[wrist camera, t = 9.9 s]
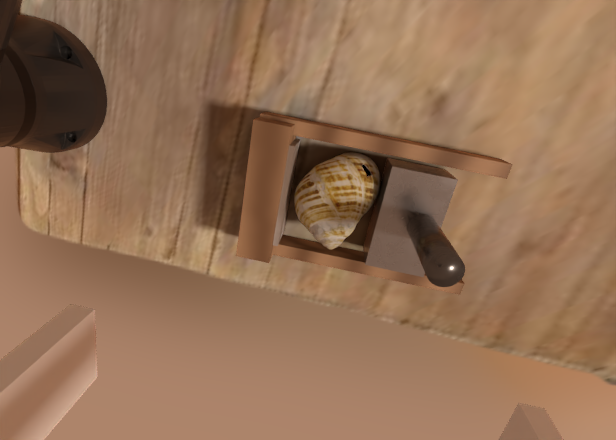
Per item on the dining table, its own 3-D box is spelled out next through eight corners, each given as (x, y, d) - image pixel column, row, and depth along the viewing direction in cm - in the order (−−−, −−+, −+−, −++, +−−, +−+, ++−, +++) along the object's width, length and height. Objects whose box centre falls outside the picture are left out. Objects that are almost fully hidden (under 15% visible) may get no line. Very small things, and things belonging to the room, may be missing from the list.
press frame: (248, 238, 48) (235, 258, 43) (266, 111, 42) (253, 115, 36) (453, 282, 47) (467, 308, 42) (501, 159, 41) (525, 170, 36)
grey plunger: (363, 246, 47) (370, 315, 33) (387, 157, 42) (407, 192, 28) (415, 258, 46) (445, 332, 33) (445, 169, 42) (494, 210, 28)
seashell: (384, 141, 41) (393, 203, 35) (372, 200, 48) (377, 261, 42) (297, 137, 42) (289, 197, 35) (298, 196, 49) (291, 256, 42)
